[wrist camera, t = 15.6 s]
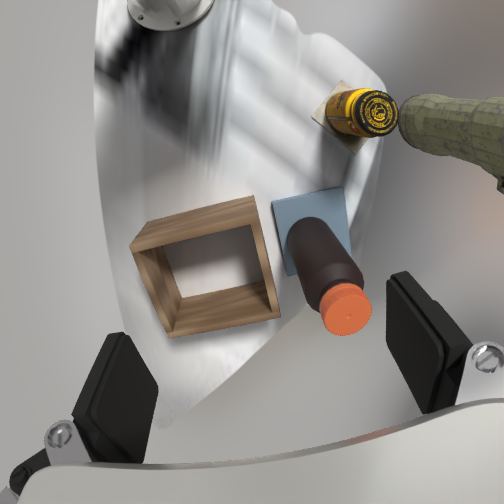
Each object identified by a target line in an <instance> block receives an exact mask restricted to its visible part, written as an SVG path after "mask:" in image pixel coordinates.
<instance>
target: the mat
mask: <svg viewBox="0 0 504 504" xmlns="http://www.w3.org/2000/svg"><path fill="white" fill-rule="evenodd" d="M272 205H273V209H274V214H275V219H276V223H277V228H278V233H279V237H280V242H281V247H282V251H283V256H284V261H285V266H286V271H287V275H288V276H291V275H295V274H298V273H297V271H296V268H295V265H294V262H293V259H292V256H291V253H290V250H289V247H288V244H287V235H288V232H289V229H290V228H291V227H292V225H293V224H294V223H295V222H297V221H298V220H299V219H302V218H305V217H316V218H319V219H321V220H323V221H324V222H326V223H327V225H328V226H329V227H330V229H331V230H332V232H333V233H334V234H335V236H336V237H337V238H338V240H339V241H340V243H341V244H342V245H343V247H344V248H345V250H346V251H347V253H348V254H349V255H350V257H351V247H350V237H349V229H348V220H347V212H346V205H345V197H344V190H343V188H342V187H337V188H332V189H327V190H322V191H318V192H313V193H308V194H303V195H299V196H294V197H289V198H285V199H280V200H276V201H272ZM351 258H352V257H351Z"/></svg>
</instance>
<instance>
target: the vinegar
mask: <svg viewBox="0 0 504 504" xmlns="http://www.w3.org/2000/svg"><path fill="white" fill-rule="evenodd" d="M287 244H288V247H289V250H290V253H291V256H292V259H293V262H294V265H295V268H296V271H297V273H298V276H299V279H300V282H301V285H302V288H303V291H304V294H305V297H306V300H307V303H308V304H309V305H310V306H311V308H312V309H314V310H315V311H317V312H319V313H320V314H321V316H322V320H323V322H324V325H325V327H326V329H327V330H328V331H330V332H331V333H333V334H335V335H340V336H343V335H344V336H345V335H350V334H353V333H355V332H357V331H359V330H360V329H362V328H363V326H365V325H366V323H367V322H368V320H369V318H370V316H371V313H372V312H371V311H372V310H371V309H372V308H371V304H370V302H369V300H368V298H367V297H366V295H365V294H364V292H363V287H364V280H363V275H362V273H361V272H360V270H359V268H358V267H357V265H356V264H355V263H354V261H353V260H352V258H351V257H350V255H349V254H348V253H347V251H346V250H345V248H344V247H343V245H342V244H341V243H340V241H339V240H338V238H337V237H336V236H335V234H334V233H333V232H332V230H331V229H330V227H329V226H328V225H327V223H326V222H324V221H323V220H321V219H319V218H316V217H305V218H302V219H299V220H298V221H297V222H295V223H294V224H293V225H292V227H291V228H290V229H289V232H288V235H287Z"/></svg>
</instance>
